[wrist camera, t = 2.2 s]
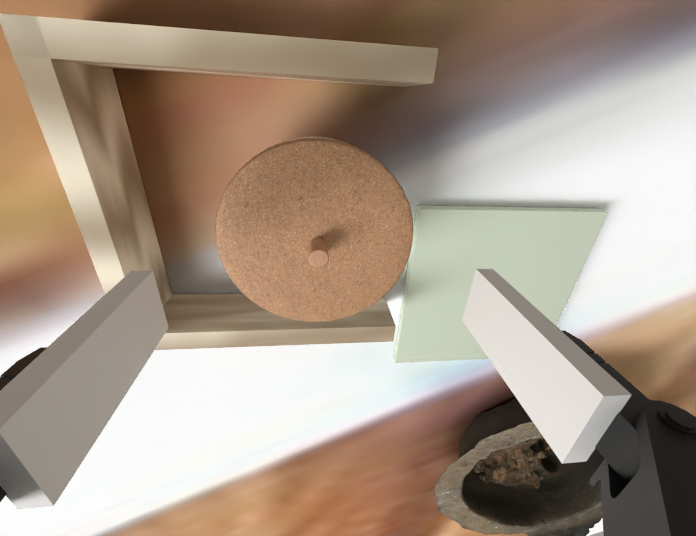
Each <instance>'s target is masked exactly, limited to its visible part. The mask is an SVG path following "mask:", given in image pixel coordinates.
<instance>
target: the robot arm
mask: <svg viewBox="0 0 696 536" xmlns="http://www.w3.org/2000/svg"><path fill="white" fill-rule="evenodd" d="M462 321H463V322H464V324H465V325H466V327H467V328H468V329H469V331H470V332H471V334H472V335H473V337H474V338H475V339H476V341H477V342H478V344H479V345H480V347H481V348H482V350H483V351H484V352H485V354H486V355H487V357H488V358H489V360H490V361H491V362H492V364H493V365H494V367H495V368H496V370H497V371H498V373H499V374H500V375H501V377H502V378H503V380H504V381H505V383H506V384H507V385H508V387H509V388H510V390H511V391H512V393H513V394H514V395H515V397H516V398H517V400H518V401H519V403H520V404H521V406H522V407H523V408H524V410H525V411H526V413H527V414H528V416H529V417H530V418H531V420H532V421H533V423H534V424H535V426H536V427H537V428H538V430H539V431H540V433H541V434H542V436H543V437H544V439H545V440H546V441H547V443H548V444H549V446H550V447H551V449H552V450H553V451H554V453H555V454H556V456H557V457H558V459H559V460H560V462H561V463H562V464H563V463H575V462H586V461H587V460H588V458H589V457H590V455H591V454H592V453H593V451H594V450H595V448H596V449H597V450H598V451H599V452H600V454H601V455H602V456H603V457H604V458H605V459H604V460H603V462H602V463H601V465H600V466H599V467H598V469H597V470H596V471H595V473H594V474H593V476H592V477H591V479H590V482H589V484H590V485H592V486H593V487H594V485H595V484H596V483H597V481H598V480H600V479H601V492H602V511H603V530H604V536H696V417H695V416H693V415H692V414H690V413H688V412H687V411H685V410H683V409H681V408H679V407H677V406H675V405H673V404H669V403H666V402H662V401H653V400H649V399H648V398H647V397H646V396H644V395H643V394H642V393H641V392H640V391H639V390H638V389H636V388H635V387H634V386H633V385H632V384H631V383H630V382H628V381H627V380H626V379H625V378H624V377H623V376H622V375H620V374H619V373H618V372H617V371H616V370H615V369H614V368H612V367H611V366H610V365H609V364H606V363H605V361H604V360H603V359H602V358H601V357H600V356H599V355H597V354H595V353H594V351H593V350H592V349H591V348H589V347H588V346H587V345H586V344H585V343H584V342H583V341H581V340H580V339H578V338H576V337H575V336H573V335H571V334H570V333H568V332H566V331H561V330H560V329H559V328H558V327H557V326H555V325H554V324H553V323H552V322H551V321H550V320H549V319H548V318H547V317H545V316H544V315H543V314H542V313H541V312H540V311H539V310H538V309H537V308H536V307H534V306H533V305H532V304H531V303H530V302H529V301H528V300H527V299H526V298H525V297H523V296H522V295H521V294H520V293H519V292H518V291H517V290H516V289H515V288H513V287H512V286H511V285H510V284H509V283H508V282H507V281H506V280H505V279H504V278H502V277H501V276H500V275H499V274H498V273H497V272H496V271H495V270H494V269H476V271H475V275H474V278H473V282H472V286H471V289H470V293H469V297H468V301H467V304H466V308H465V312H464V315H463V319H462ZM168 328H169V327H168V323H167V320H166V316H165V312H164V309H163V305H162V302H161V298H160V294H159V291H158V287H157V284H156V280H155V276H154V273H153V271H131V272H130V273H128V274H127V275H126V276H125V277H124V278H123V279H122V280H121V281H120V282H119V283H118V284H116V285H115V286H114V287H113V288H112V289H111V290H110V291H109V292H108V293H107V294H105V295H104V296H103V297H102V298H101V299H100V300H99V301H98V302H97V303H96V304H95V305H93V306H92V307H91V308H90V309H89V310H88V311H87V312H86V313H85V314H84V315H83V316H81V317H80V318H79V319H78V320H77V321H76V322H75V323H74V324H73V325H72V326H71V327H69V328H68V329H67V330H66V331H65V332H64V333H63V334H62V335H61V336H60V337H58V338H57V339H56V340H55V341H54V342H53V343H52V344H51V345H50V346H49V347H48V348H39V349H38V350H36V351H34V352H32V353H31V354H29V355H27V356H25V357H24V358H22V359H20V360H19V361H17V362H16V363H15V364H14V365H13V366H11V367H10V368H9V369H8V370H7V371H6V372H5V373H3V374H2V375H1V376H0V377H1V378H0V502H1V500H2V499H3V498H4V497H5V495H6V496H7V497H8V498H9V499H10V501H11V502H12V503H13V504H14V505H15V506H16V508H17V509H21V508H33V507H45V506H54V504H55V503H56V501H57V500H58V498H59V497H60V495H61V494H62V492H63V491H64V489H65V487H66V486H67V484H68V483H69V481H70V480H71V478H72V477H73V475H74V473H75V472H76V470H77V469H78V467H79V466H80V464H81V463H82V461H83V460H84V458H85V456H86V455H87V453H88V452H89V450H90V449H91V447H92V446H93V444H94V443H95V441H96V439H97V438H98V436H99V435H100V433H101V432H102V430H103V429H104V427H105V426H106V424H107V422H108V421H109V419H110V418H111V416H112V415H113V413H114V412H115V410H116V408H117V407H118V405H119V404H120V402H121V401H122V399H123V398H124V396H125V395H126V393H127V391H128V390H129V388H130V387H131V385H132V384H133V382H134V381H135V379H136V378H137V376H138V374H139V373H140V371H141V370H142V368H143V367H144V365H145V364H146V362H147V360H148V359H149V357H150V356H151V354H152V353H153V351H154V350H155V348H156V347H157V345H158V343H159V342H160V340H161V339H162V337H163V336H164V334H165V333H166V331H167V330H168Z"/></svg>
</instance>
